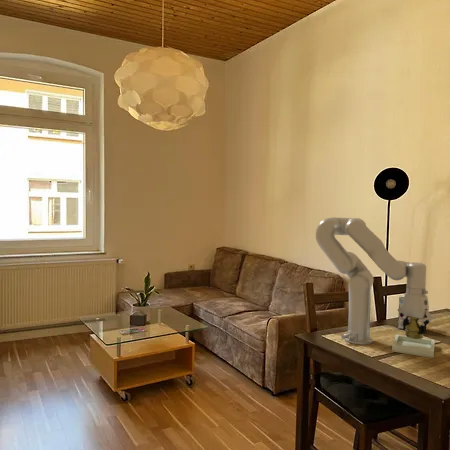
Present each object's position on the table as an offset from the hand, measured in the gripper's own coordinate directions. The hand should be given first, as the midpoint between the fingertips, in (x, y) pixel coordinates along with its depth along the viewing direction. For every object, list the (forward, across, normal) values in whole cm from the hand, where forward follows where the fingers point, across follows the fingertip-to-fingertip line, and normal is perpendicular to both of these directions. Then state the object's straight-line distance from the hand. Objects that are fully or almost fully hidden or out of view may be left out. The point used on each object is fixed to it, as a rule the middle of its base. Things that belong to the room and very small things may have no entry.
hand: (414, 331), depth 187 cm
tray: (+8, 0, 0) cm, 8 cm away
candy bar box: (+8, +21, -25) cm, 34 cm away
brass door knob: (+3, 0, 0) cm, 3 cm away
